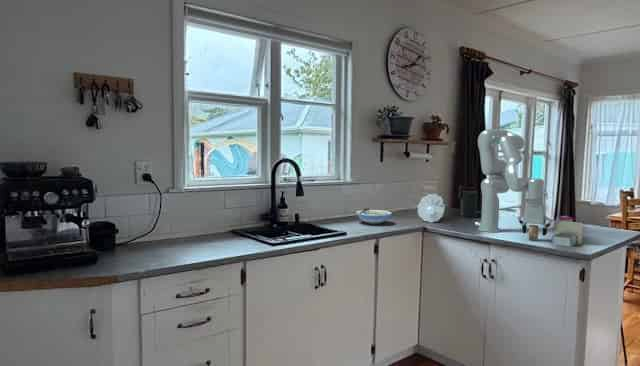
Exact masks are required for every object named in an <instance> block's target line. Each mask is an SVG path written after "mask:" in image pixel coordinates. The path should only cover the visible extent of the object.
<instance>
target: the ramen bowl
mask: <svg viewBox="0 0 640 366" xmlns="http://www.w3.org/2000/svg"><path fill="white" fill-rule="evenodd" d="M356 214H357V216H358V218H359V219H360V220H361V221H363V222H365V223H367V224H368V225H380V224H381V223H385V222H387V220H388V219H390V217H391V215H392V212H391V211H389V210H383V209H382V210H381V209H370V207H368V208H367V207H365V208H364V209H362V210H357V211H356Z"/></svg>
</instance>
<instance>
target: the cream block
mask: <svg viewBox="0 0 640 366" xmlns="http://www.w3.org/2000/svg"><path fill="white" fill-rule="evenodd" d="M583 227H584V223H583V222H579V221H578V222H577V221H573V222H570V221H561V220H557V219H554V220H553V235H552V236H551V245H558V246H564V247H573V246H575V245H576V244H577V245H583V231H584V229H583Z"/></svg>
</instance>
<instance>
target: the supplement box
mask: <svg viewBox="0 0 640 366" xmlns="http://www.w3.org/2000/svg"><path fill="white" fill-rule="evenodd" d="M556 220H561V221H570V222H574V217H571V216H567V215H560V216H558V215H557V216H556Z"/></svg>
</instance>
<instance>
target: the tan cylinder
mask: <svg viewBox="0 0 640 366" xmlns="http://www.w3.org/2000/svg"><path fill="white" fill-rule="evenodd" d="M539 228H540V227H539V225H538V224H529V225H528V242H529V241H530V242H539Z"/></svg>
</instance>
